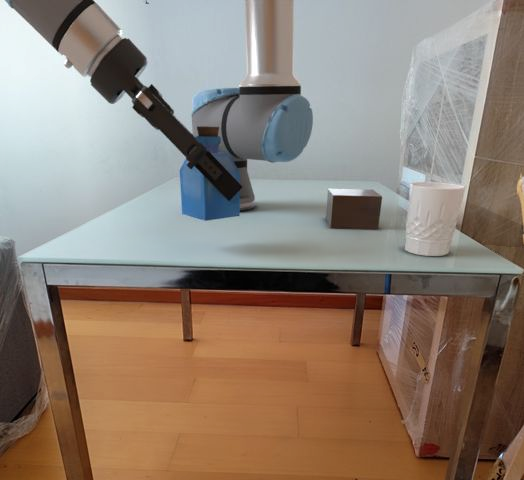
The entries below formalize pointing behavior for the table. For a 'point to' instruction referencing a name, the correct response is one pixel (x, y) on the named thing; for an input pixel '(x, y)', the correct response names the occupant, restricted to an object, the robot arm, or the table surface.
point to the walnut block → (353, 208)
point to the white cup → (432, 217)
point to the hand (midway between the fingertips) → (232, 188)
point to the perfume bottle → (208, 183)
